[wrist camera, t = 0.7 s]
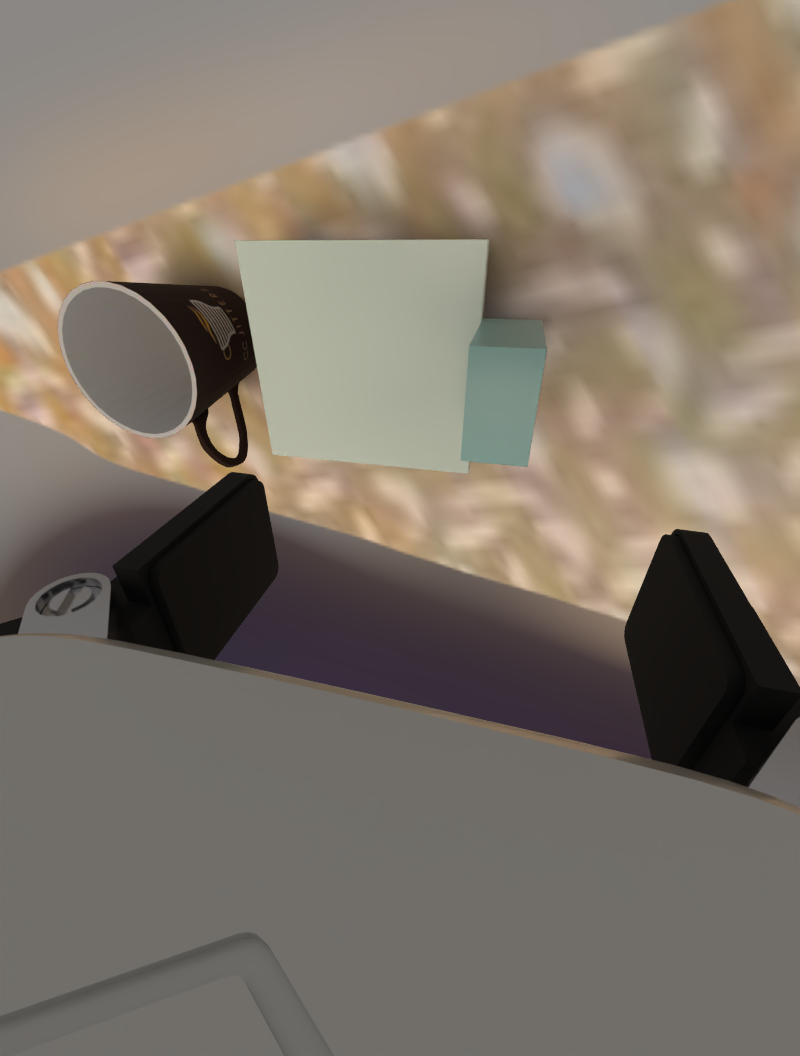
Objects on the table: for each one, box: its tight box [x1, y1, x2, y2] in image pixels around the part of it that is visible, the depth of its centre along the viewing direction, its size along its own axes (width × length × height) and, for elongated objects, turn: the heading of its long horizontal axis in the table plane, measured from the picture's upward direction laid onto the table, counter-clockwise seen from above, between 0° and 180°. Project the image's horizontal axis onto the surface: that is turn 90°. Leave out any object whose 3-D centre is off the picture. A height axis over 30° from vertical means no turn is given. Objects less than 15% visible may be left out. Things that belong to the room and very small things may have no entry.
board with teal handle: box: [235, 239, 547, 474], centre depth 23 cm, size 16×12×7 cm
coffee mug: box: [57, 281, 257, 467], centre depth 30 cm, size 12×9×10 cm
